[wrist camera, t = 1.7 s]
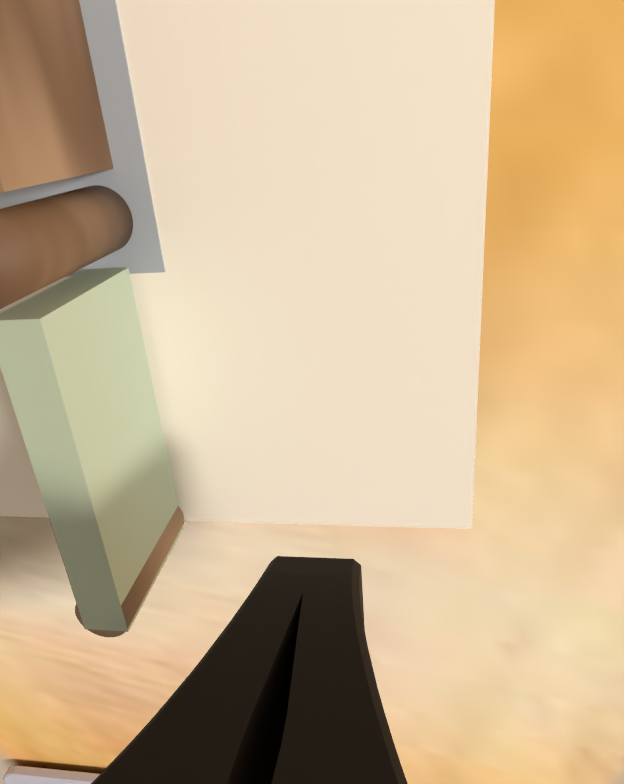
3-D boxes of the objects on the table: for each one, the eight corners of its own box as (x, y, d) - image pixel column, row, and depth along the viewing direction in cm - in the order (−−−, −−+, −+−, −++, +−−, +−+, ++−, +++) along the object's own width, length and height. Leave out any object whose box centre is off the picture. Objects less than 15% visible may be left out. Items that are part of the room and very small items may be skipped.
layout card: (469, 516, 15) (471, 529, 15) (-101, 503, 18) (-115, 514, 18) (506, -383, 9) (513, -411, 8) (-411, -191, 11) (-446, -203, 11)
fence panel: (81, 269, 13) (-20, 320, 10) (132, 267, 13) (45, 318, 10) (145, 533, 16) (82, 635, 13) (187, 534, 16) (134, 638, 13)
